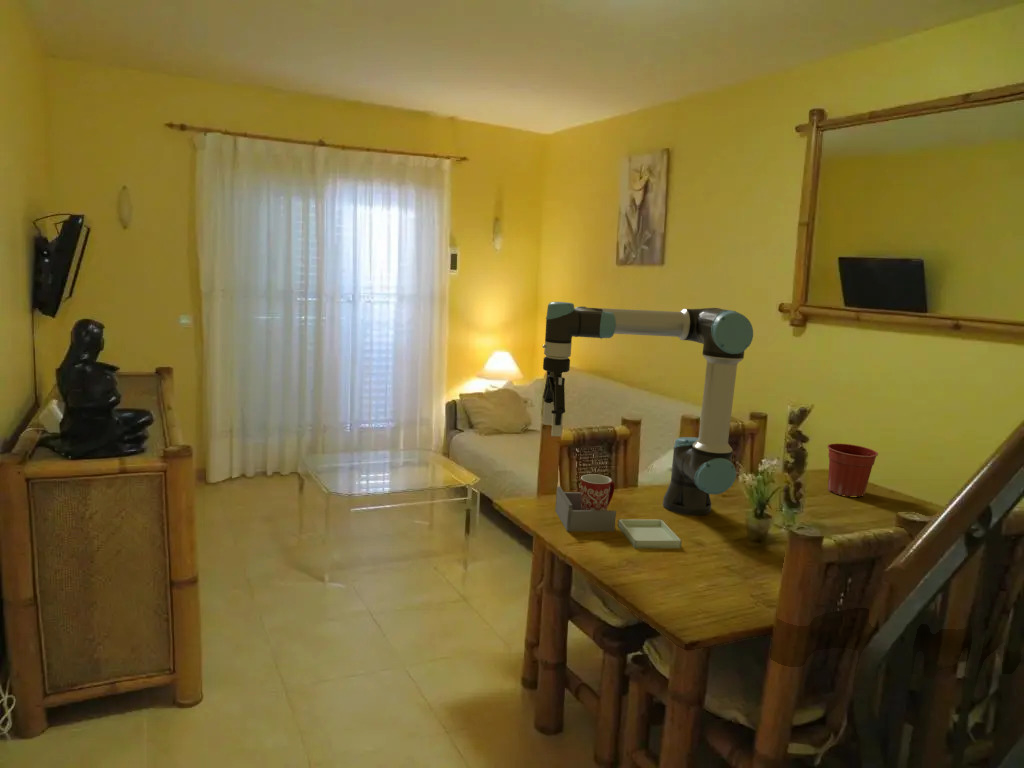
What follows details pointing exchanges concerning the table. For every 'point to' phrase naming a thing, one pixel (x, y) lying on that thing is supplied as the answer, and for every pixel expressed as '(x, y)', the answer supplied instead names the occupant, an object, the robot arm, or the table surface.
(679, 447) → the robot arm
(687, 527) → the table surface
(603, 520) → the bay
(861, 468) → the flower pot
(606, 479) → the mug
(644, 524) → the tray
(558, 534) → the table surface
